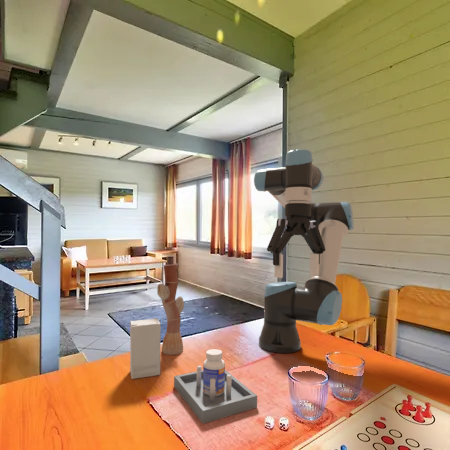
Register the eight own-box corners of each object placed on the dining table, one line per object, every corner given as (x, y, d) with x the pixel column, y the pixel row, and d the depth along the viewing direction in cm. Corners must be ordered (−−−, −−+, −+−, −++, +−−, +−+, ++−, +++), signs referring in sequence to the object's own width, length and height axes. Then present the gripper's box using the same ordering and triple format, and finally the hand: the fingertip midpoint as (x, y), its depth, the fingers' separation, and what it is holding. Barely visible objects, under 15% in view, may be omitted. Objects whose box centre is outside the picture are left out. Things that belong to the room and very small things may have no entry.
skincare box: (157, 367, 93) (159, 317, 93) (160, 376, 87) (162, 323, 87) (128, 371, 90) (130, 319, 90) (129, 380, 84) (131, 325, 85)
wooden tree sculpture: (180, 345, 111) (182, 262, 112) (188, 352, 105) (190, 264, 106) (151, 350, 106) (154, 262, 107) (157, 357, 100) (160, 264, 101)
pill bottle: (222, 398, 73) (222, 357, 74) (200, 395, 74) (201, 354, 75) (226, 387, 79) (227, 349, 79) (205, 385, 80) (206, 347, 80)
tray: (173, 386, 81) (174, 362, 81) (220, 375, 88) (221, 353, 88) (202, 423, 65) (203, 394, 66) (257, 407, 72) (257, 380, 72)
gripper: (271, 198, 81) (270, 280, 80) (338, 205, 93) (337, 276, 92) (255, 201, 87) (254, 276, 87) (319, 207, 99) (318, 273, 99)
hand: (297, 276), depth 89 cm, fingers open, 13 cm apart
